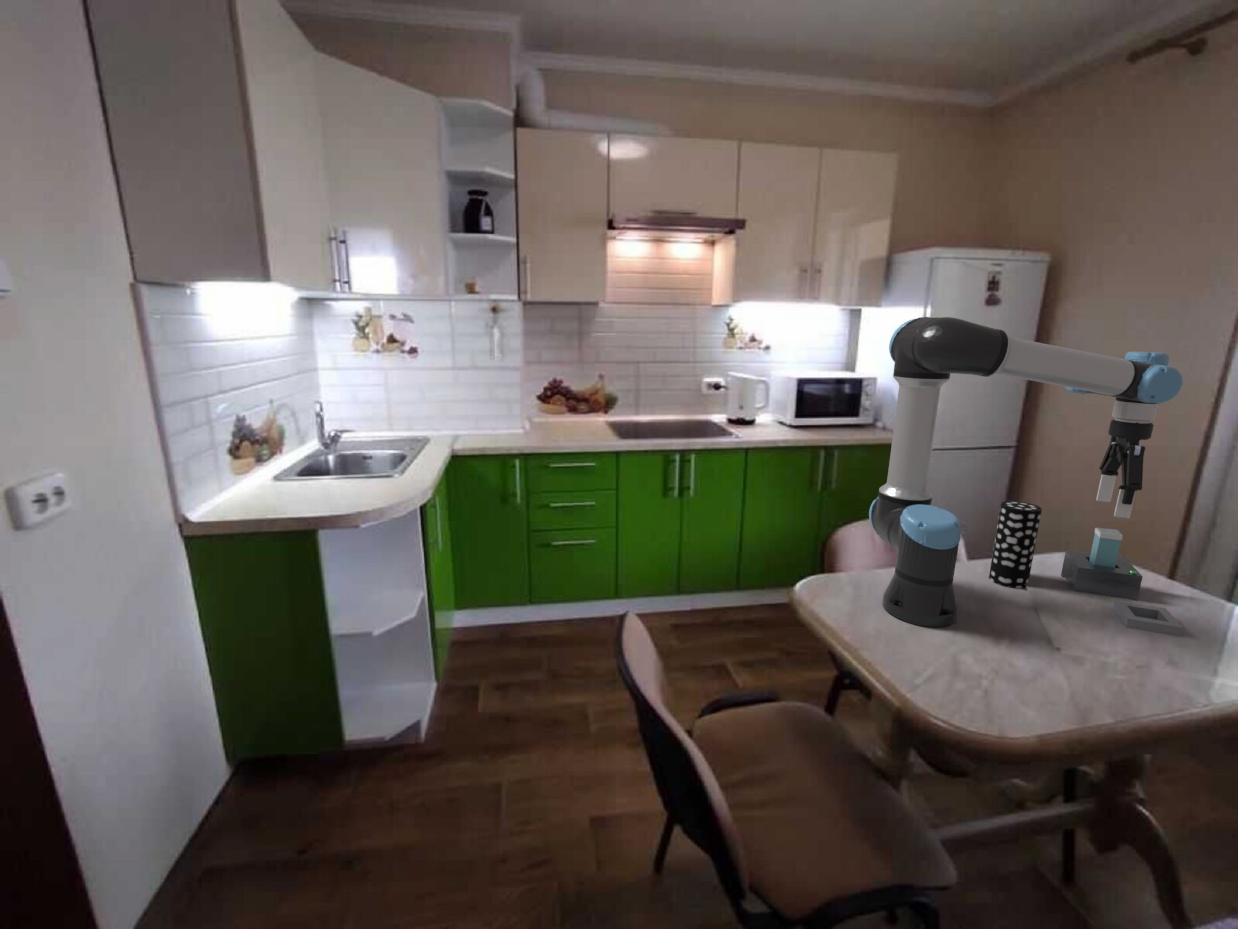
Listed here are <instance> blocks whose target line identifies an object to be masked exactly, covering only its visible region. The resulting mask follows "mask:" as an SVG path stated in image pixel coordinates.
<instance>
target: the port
mask: <svg viewBox="0 0 1238 929" xmlns="http://www.w3.org/2000/svg"><path fill="white" fill-rule="evenodd" d="M1064 553H1065V554H1064V558H1063V563H1062V568H1061V573H1060V576H1061V578H1065V579H1066V581H1067V583H1068V584H1069V586H1070V588H1071V589H1072V590H1073V591H1074V592H1079V593H1087V594H1093V595H1099V596H1100V595H1101V596H1106V597H1113V598H1117V599H1118V598H1119V599H1124V600H1131V601H1138V599H1139V593H1140V589H1141V585H1142V581H1143V575H1142V574H1141V573H1140V572H1139V571H1138V570H1137V569H1136V568H1135V567H1134V566H1133V565H1132V564H1131V562H1129V561H1128V560H1127V558H1126V557H1121V556H1118V557H1117V562H1116V566H1115V568H1111V567H1104V566H1097V565H1091V563H1090V562H1089V559H1090V555H1091V552H1085V551H1077V550H1076V551H1075V550H1067V549H1066V550H1065V552H1064Z"/></svg>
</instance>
